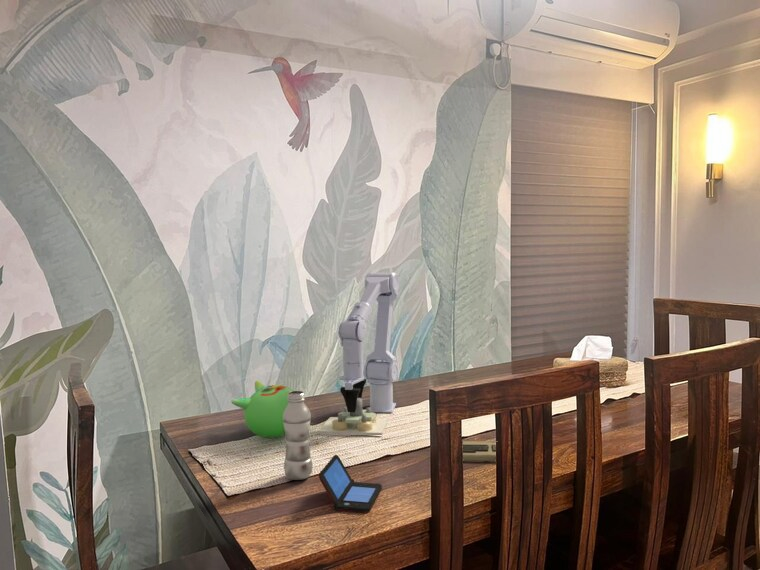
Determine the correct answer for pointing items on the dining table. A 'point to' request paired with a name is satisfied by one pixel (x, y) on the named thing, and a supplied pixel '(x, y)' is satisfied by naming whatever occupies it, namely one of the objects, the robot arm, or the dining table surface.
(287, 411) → the plastic bottle
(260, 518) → the dining table surface
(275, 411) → the round green creature toy
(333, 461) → the handheld game console
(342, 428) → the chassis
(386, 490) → the dining table surface
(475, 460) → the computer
